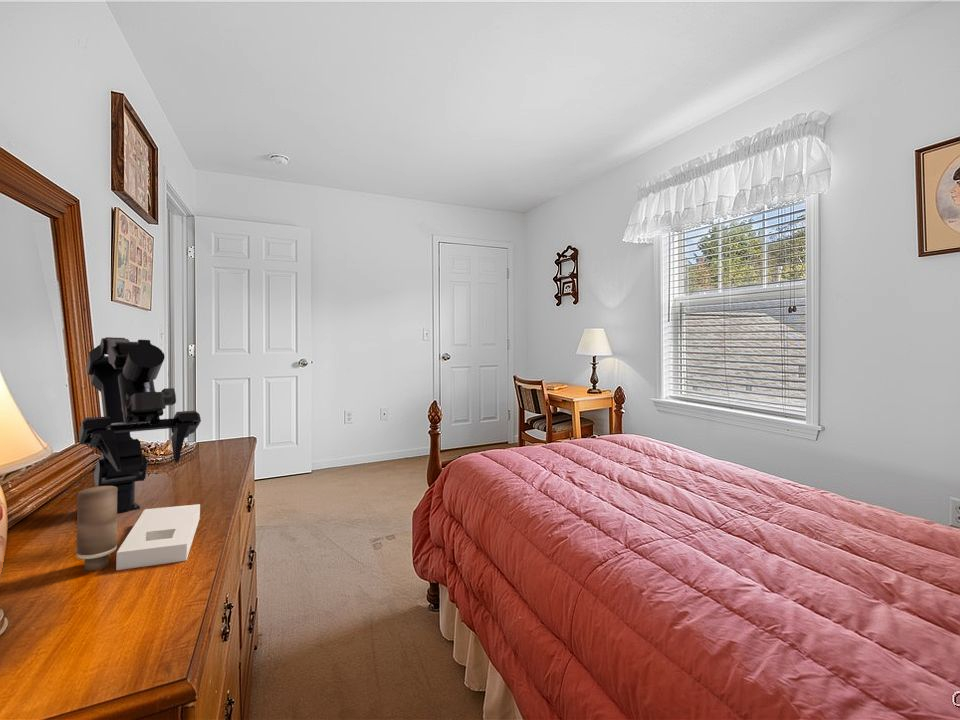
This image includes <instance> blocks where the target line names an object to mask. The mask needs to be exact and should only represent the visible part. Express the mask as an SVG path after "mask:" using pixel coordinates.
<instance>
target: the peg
mask: <svg viewBox="0 0 960 720" xmlns="http://www.w3.org/2000/svg"><path fill="white" fill-rule="evenodd" d="M76 513H77V514H76V515H77V516H76V518H77V519H76V520H77V521H76V553H75V556H76V558H77V559H80V560H84V566H83V567H84V571H86V572H94V571H99V570H103V569H105V568H106V567H108V566H109V565H110V563H109V562H110V561H109V559H110V554H112V553H114V552H116V551H117V550H118V549H117V548H118V543H117V537H118V536H117V535H118V534H117V529H118V528H117V527H118V526H117V524H118V513H117V487H115V486H98V487H97V486H92V487H88V488H84V489H81V490H79V491H78V492H77V512H76Z"/></svg>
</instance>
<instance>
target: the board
mask: <svg viewBox="0 0 960 720" xmlns="http://www.w3.org/2000/svg"><path fill="white" fill-rule="evenodd" d="M200 519H201V504H200V503H198V504H197V503H196V504H189V505H179V506H178V505H177V506H176V505H175V506H165V507H155V508H146V509H144V510H143V511H142V513H141V515H140V516H139V517H138V519H137V521H136V522H135V524H134V525H133V527H132V528H131V530H130V531H129V533H128V534H127V536H126V538H125V539H124V541H123V542H122V544H121V545H120V546H119V548H118V549H117V550H116V561H115V562H116V564H115V566H116V567H115V568H116V571H120V570H121V571H122V570H127V569H128V570H129V569H135V568H143V567H148V566H149V567H150V566H151V567H152V566H157V565H164V564H170V563H171V564H173V563H179V562H185V561H187V560H188V556H189V553H190V550H191V548H192V547H191V546H192V545H193V540H194V537H195V534H196V532H197V528H198V525H199V521H200Z"/></svg>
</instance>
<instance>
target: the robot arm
mask: <svg viewBox="0 0 960 720" xmlns="http://www.w3.org/2000/svg"><path fill="white" fill-rule="evenodd" d="M164 360H165V353H164V352H163V351H162V349H161V348H160V347H158V346H156V345H155V344H152V343H151V340H150V339H137V341H130V340H129V339H128V338H125V337H108V336H107V337H102V338H101V340H100V343H99V345H98V346H96V347H94V348H93V349H91V350H90V351H89V352H88V355H87V360H86V361H87V362H86V375H87V376H89V378H90V384H91V385H92V386H93V387H94V388H95V389H96V390H97V391H98V392H100V396H101V404H102V405H101V407H102V414H103V415H102V416H95V417H94V416H93V417H85V418H84V419H83V420H82V421H81V424H80V426H79V430H78V441H79V444H80V445H88V446H89V447H90V448H96V449H97V450H98V451H99V452H100V456H99V459H97V461H96V464H95V470H94V472H93V473H94V474H93V478H94V485H95V487H98V486H115V487H117V514H120V513H124V512H126V513H127V512H130V511H134V510H139V509H141V505H140V504H138V503H137V502H136V482H144V481H145V479H146V478H147V474H146V473H147V468H148V466H149V465H148V464H149V459H147V457H146V454H144V453H143V452H142V445H141V441H140V440H139V438H133V437H132V436H131V433H133V432H145V431H154V430H155V431H157V430H165V429H166V430H168V429H171V433H172V435H171V437H170V439H171V447H172V456H173V460H174V463H175V464H179V461H180V459H181V454H182V447H183V444H184V440H185V439H186V438H188V437H189V436H190V435H192V434H194V433H195V432H196V430H197V429H198V427H199V425H200V423H201V421H202V419H201V415H200V413H199V412H198V411H196V410H185V411H184V410H183V411H176V412H175V414H174V416H173V418H161V417H162V416H163V415H164V409H166V408H167V407H168V406H174V405H175V404H176V402H177V395H176V394H177V393H176V391H175V387H174V388H172V387H171V388H170V387H168V388H163V389H162V390H161V391H156V388H155V383H154V380H156V379H157V377H158V375H159V373H160V370H161V368H162V365H163V362H164ZM166 406H167V407H166Z"/></svg>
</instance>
